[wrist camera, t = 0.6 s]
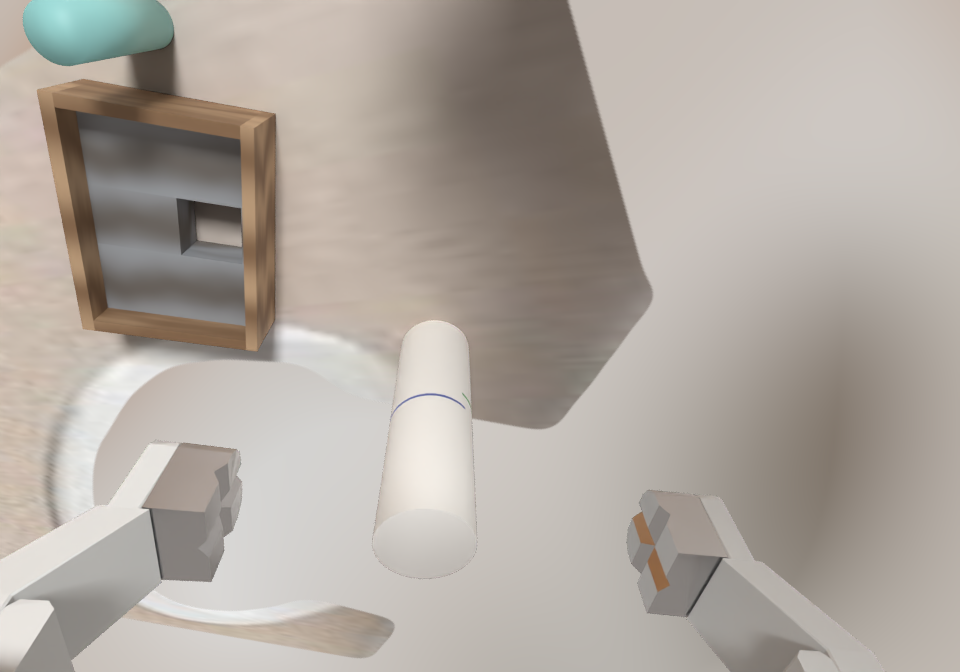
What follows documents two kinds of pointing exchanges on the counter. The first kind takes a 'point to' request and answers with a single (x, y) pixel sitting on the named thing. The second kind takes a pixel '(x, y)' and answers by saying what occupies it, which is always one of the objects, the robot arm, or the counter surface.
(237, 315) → the box
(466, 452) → the cylindrical container
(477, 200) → the counter surface
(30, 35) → the peg
